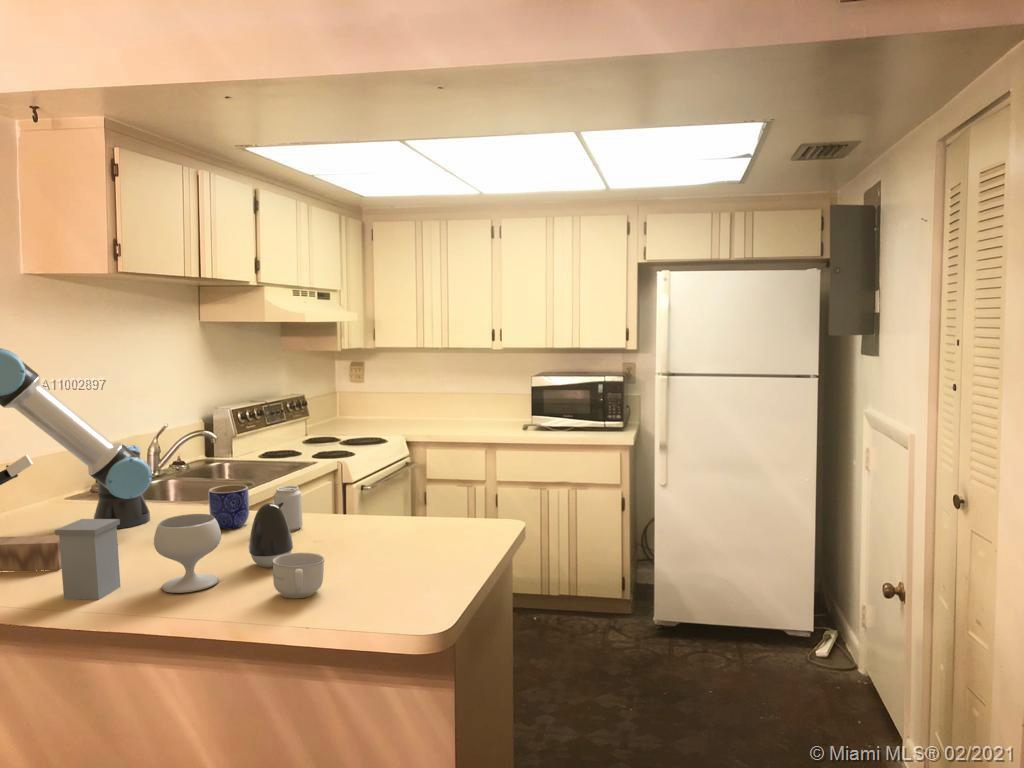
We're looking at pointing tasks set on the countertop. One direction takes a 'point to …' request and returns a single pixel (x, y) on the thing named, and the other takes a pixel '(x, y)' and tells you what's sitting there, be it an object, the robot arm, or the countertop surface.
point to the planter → (229, 505)
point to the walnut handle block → (30, 553)
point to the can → (290, 505)
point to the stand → (89, 558)
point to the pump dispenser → (269, 535)
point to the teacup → (298, 574)
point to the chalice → (188, 548)
